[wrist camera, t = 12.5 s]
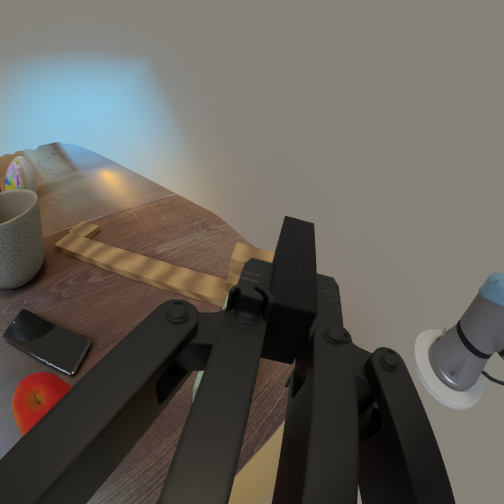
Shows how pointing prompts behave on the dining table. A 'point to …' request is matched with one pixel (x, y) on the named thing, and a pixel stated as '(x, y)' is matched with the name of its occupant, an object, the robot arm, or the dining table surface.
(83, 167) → the dining table surface
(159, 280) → the wooden beam with block
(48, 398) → the apple
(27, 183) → the decorative egg
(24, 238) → the planter
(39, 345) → the smartphone
